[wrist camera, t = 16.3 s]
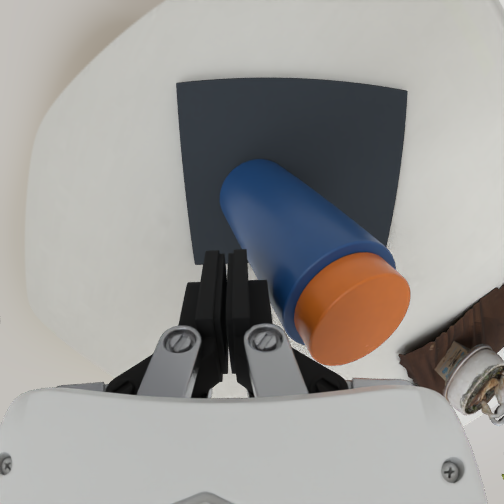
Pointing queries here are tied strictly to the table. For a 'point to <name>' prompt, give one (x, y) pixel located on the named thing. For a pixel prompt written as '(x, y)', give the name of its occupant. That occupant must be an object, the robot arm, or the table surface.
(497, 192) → the table surface
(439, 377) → the potted plant
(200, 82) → the mat
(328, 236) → the canister
